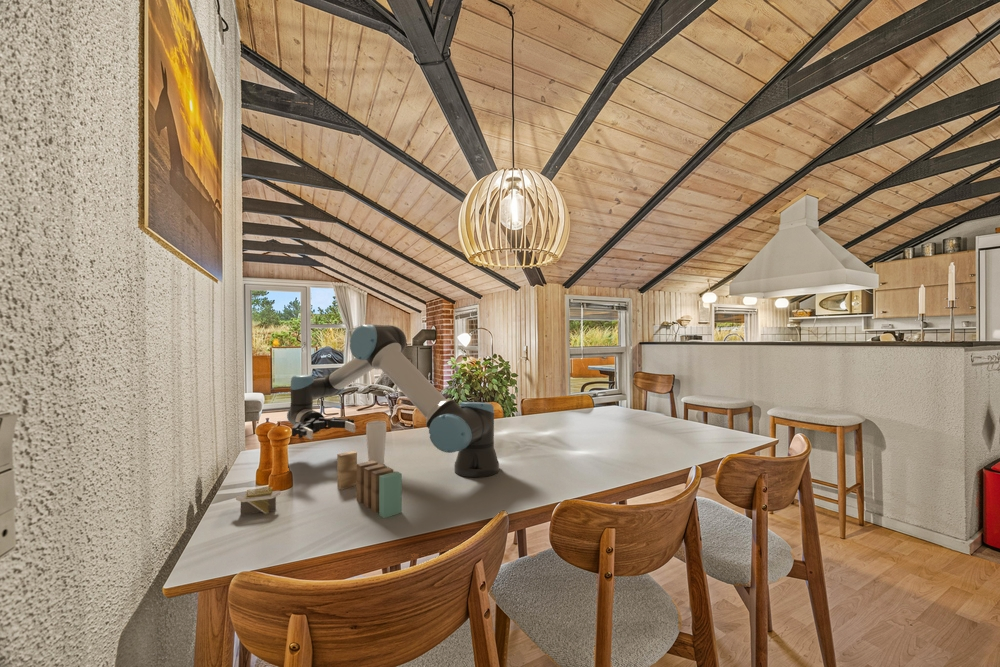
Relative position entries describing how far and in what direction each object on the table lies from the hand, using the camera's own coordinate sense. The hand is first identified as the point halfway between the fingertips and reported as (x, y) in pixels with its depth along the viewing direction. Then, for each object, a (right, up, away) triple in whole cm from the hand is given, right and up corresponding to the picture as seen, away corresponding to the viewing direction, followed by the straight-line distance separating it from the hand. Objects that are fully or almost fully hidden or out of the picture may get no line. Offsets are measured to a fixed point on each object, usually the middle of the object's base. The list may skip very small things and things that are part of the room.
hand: (333, 431), depth 130 cm
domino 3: (+19, -15, -20) cm, 32 cm away
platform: (-9, -15, -26) cm, 32 cm away
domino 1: (+7, -15, -7) cm, 18 cm away
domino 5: (+26, -15, -27) cm, 40 cm away
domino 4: (+22, -15, -23) cm, 36 cm away
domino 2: (+16, -15, -17) cm, 28 cm away
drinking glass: (+10, -15, +13) cm, 22 cm away
